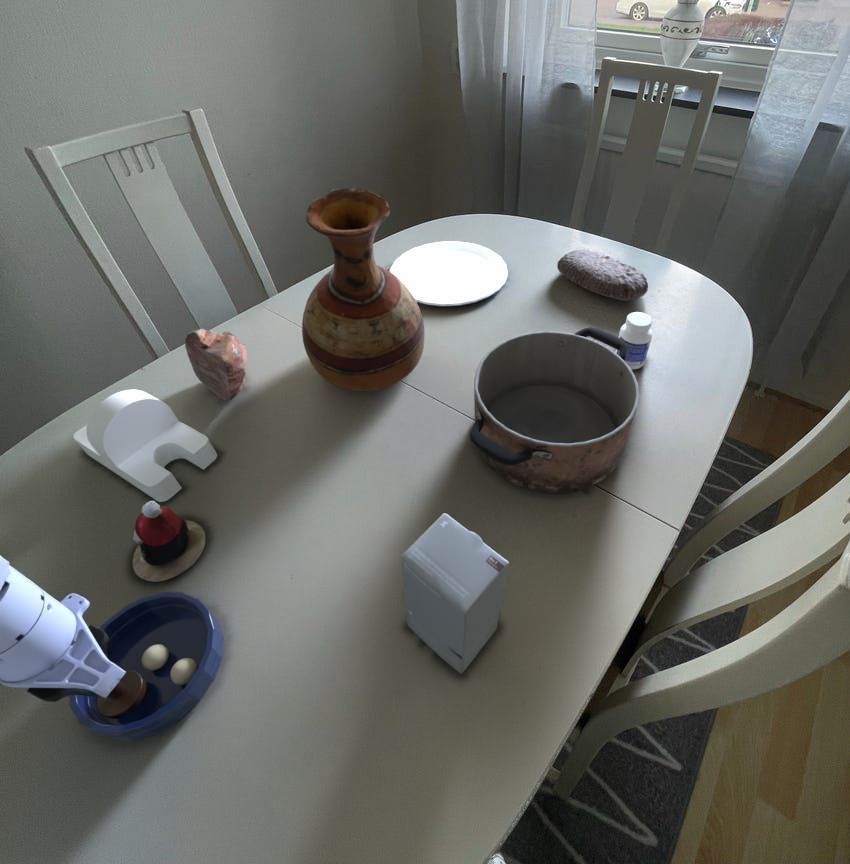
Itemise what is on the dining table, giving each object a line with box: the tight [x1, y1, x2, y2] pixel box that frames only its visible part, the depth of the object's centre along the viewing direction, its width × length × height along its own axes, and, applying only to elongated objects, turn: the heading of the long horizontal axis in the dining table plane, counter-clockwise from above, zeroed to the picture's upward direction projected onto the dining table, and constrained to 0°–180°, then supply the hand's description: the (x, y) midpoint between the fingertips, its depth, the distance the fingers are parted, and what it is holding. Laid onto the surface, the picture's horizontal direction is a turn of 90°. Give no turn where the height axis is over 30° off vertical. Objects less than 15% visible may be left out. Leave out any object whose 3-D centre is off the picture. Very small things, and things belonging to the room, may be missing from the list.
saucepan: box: [469, 326, 640, 494], centre depth 74 cm, size 30×22×11 cm
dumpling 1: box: [142, 644, 169, 670], centre depth 54 cm, size 2×2×2 cm
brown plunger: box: [97, 671, 146, 719], centre depth 48 cm, size 4×4×10 cm
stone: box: [184, 328, 248, 402], centre depth 83 cm, size 13×8×10 cm
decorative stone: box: [556, 249, 649, 301], centre depth 105 cm, size 20×14×5 cm
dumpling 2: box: [170, 658, 197, 685], centre depth 53 cm, size 2×2×2 cm
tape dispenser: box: [73, 389, 218, 503], centre depth 72 cm, size 10×18×11 cm, turn 60°
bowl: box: [68, 591, 224, 742], centre depth 54 cm, size 13×13×4 cm
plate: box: [389, 240, 509, 308], centre depth 109 cm, size 25×25×1 cm
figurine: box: [132, 500, 206, 583], centre depth 62 cm, size 8×10×12 cm
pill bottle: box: [614, 311, 653, 370], centre depth 87 cm, size 5×5×9 cm
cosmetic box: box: [400, 513, 510, 674], centre depth 52 cm, size 8×7×16 cm
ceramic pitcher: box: [301, 187, 425, 392], centre depth 79 cm, size 20×20×30 cm
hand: (95, 678), depth 48 cm, fingers closed on brown plunger
